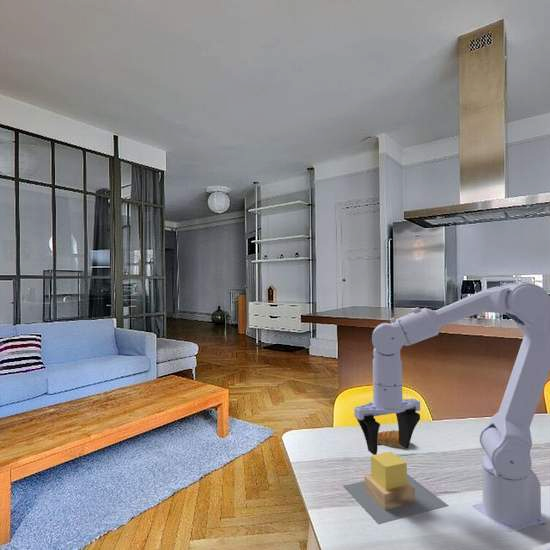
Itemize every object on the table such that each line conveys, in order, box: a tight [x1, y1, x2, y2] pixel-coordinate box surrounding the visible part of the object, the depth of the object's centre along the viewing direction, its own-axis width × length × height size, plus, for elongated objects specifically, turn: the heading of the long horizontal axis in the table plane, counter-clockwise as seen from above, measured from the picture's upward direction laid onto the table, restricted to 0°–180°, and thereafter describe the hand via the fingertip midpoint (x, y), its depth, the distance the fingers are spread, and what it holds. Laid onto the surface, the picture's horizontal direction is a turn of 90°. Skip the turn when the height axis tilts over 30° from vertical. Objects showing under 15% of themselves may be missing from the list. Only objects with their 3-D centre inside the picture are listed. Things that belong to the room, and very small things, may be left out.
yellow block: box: [370, 451, 408, 490], centre depth 76 cm, size 5×5×4 cm
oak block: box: [364, 474, 415, 510], centre depth 76 cm, size 7×7×3 cm
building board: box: [342, 473, 449, 525], centre depth 76 cm, size 16×13×1 cm
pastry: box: [377, 429, 409, 450], centre depth 100 cm, size 9×7×4 cm
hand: (388, 449), depth 76 cm, fingers open, 7 cm apart
